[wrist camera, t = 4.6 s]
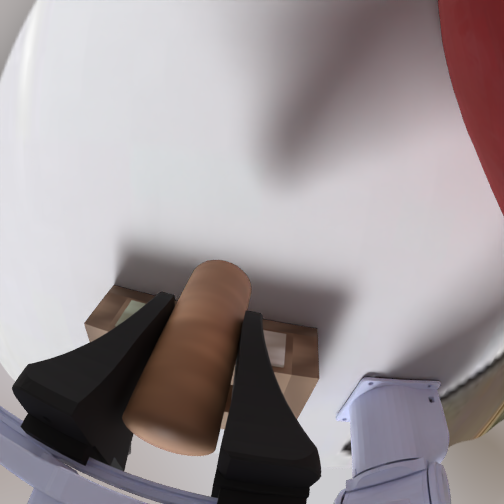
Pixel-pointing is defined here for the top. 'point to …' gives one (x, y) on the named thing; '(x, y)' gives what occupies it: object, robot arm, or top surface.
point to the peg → (192, 364)
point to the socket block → (281, 357)
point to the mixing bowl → (478, 77)
